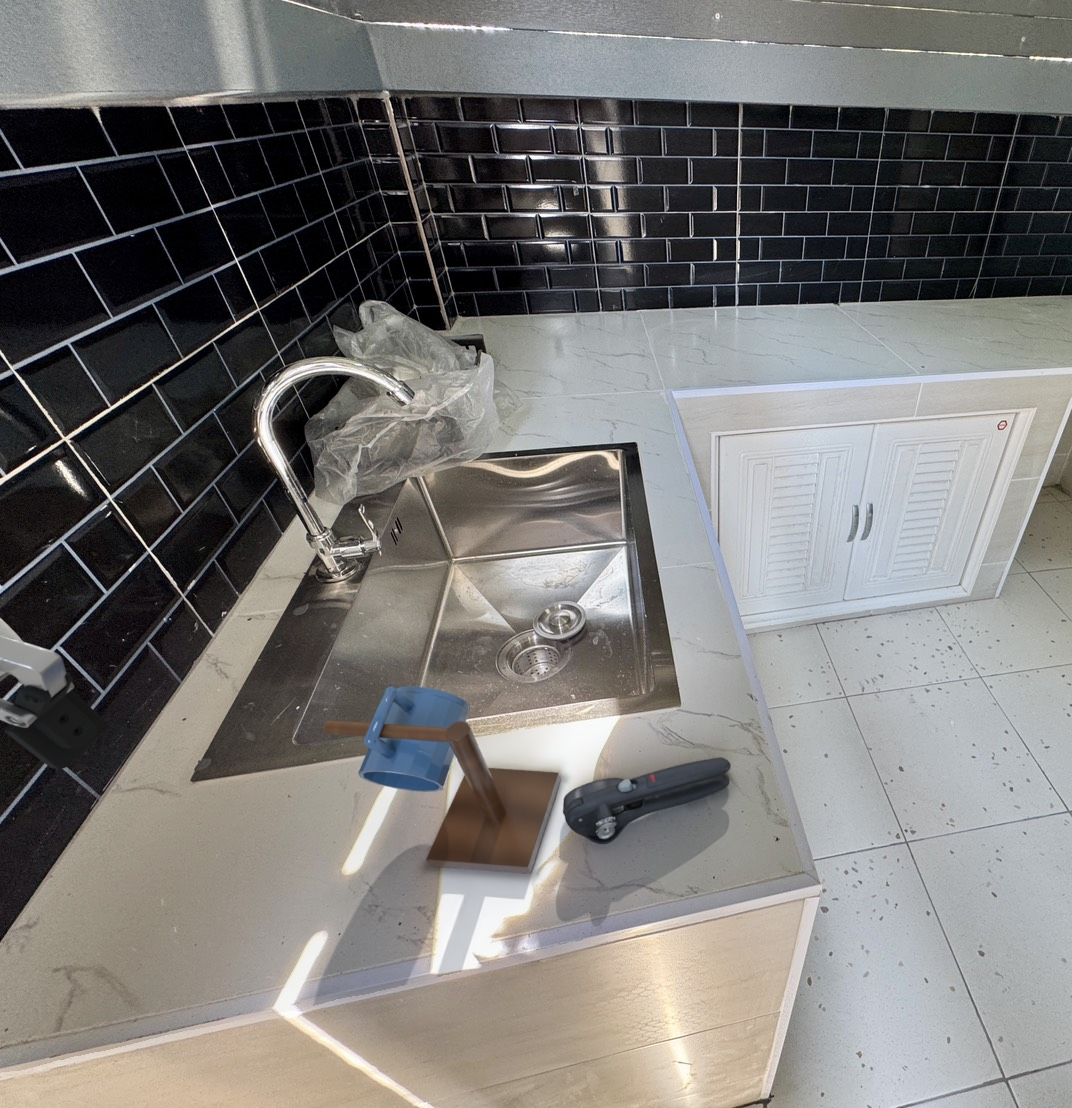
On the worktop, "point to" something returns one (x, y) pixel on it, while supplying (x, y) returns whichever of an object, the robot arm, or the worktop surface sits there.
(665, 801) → the can opener
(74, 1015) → the worktop surface
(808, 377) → the worktop surface
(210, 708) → the worktop surface
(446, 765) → the mug
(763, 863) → the worktop surface
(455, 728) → the mug stand
